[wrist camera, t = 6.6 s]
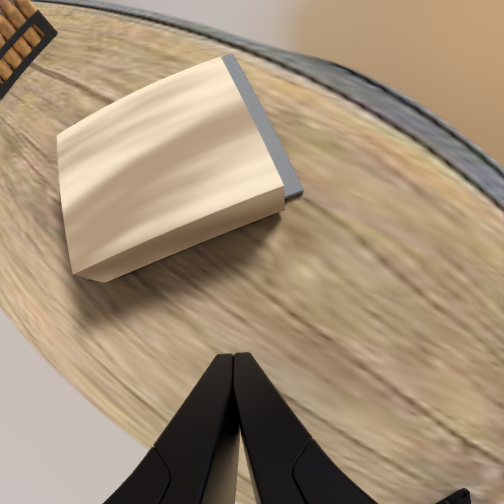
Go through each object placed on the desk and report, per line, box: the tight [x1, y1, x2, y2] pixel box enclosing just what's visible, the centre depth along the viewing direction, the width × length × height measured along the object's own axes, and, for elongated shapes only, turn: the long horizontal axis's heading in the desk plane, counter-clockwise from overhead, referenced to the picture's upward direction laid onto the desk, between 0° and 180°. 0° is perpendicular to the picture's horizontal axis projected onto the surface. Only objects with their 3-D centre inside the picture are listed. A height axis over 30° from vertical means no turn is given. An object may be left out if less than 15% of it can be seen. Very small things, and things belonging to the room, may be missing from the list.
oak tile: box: [57, 57, 285, 283], centre depth 18 cm, size 4×12×10 cm
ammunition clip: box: [0, 0, 58, 99], centre depth 21 cm, size 11×2×12 cm, turn 148°
